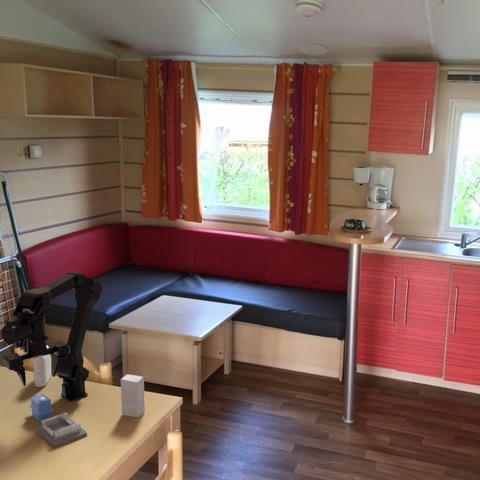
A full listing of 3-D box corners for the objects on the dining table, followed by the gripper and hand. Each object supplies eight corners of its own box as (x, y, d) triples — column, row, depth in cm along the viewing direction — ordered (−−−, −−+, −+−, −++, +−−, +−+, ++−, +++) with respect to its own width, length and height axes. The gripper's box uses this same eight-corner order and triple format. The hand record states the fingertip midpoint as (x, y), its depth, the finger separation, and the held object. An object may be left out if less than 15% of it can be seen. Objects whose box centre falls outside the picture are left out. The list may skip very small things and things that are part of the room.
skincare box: (145, 412, 186) (144, 376, 184) (138, 418, 182) (137, 382, 180) (128, 408, 188) (127, 373, 185) (121, 415, 184) (119, 379, 182)
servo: (42, 409, 187) (41, 390, 185) (53, 419, 181) (52, 399, 180) (30, 413, 184) (28, 394, 183) (41, 423, 179) (40, 403, 177)
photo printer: (46, 387, 202) (44, 353, 199) (33, 387, 201) (30, 353, 199) (52, 374, 212) (50, 341, 209) (40, 374, 211) (38, 341, 209)
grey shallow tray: (67, 419, 181) (67, 409, 180) (87, 435, 172) (86, 424, 172) (36, 431, 174) (35, 420, 174) (54, 448, 166) (53, 436, 165)
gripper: (53, 318, 189) (56, 363, 192) (-7, 332, 176) (-2, 381, 180) (69, 327, 181) (72, 375, 184) (8, 343, 168) (12, 394, 172)
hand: (39, 380), depth 180 cm, fingers open, 9 cm apart
